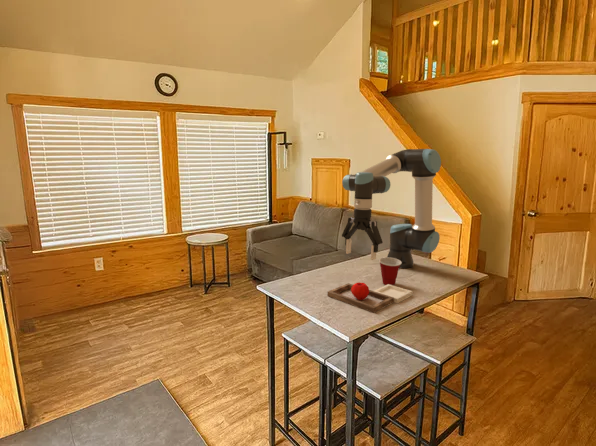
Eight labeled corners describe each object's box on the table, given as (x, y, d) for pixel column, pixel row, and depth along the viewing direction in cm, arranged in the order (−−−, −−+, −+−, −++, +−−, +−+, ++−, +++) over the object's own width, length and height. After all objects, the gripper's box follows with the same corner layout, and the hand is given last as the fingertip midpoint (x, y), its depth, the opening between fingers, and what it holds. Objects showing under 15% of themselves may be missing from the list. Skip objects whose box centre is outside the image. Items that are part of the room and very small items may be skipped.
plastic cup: (389, 289, 176) (390, 265, 174) (373, 282, 185) (374, 259, 182) (405, 284, 182) (406, 261, 179) (388, 278, 191) (389, 255, 188)
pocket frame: (348, 287, 179) (348, 283, 179) (393, 302, 162) (394, 297, 161) (327, 295, 169) (327, 291, 169) (373, 312, 152) (373, 308, 151)
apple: (347, 298, 166) (347, 282, 165) (359, 294, 171) (359, 278, 170) (360, 304, 160) (360, 287, 159) (372, 299, 165) (373, 283, 163)
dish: (388, 288, 178) (388, 284, 177) (412, 295, 169) (412, 291, 168) (372, 295, 169) (372, 291, 169) (397, 303, 160) (397, 298, 160)
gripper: (335, 206, 168) (333, 252, 171) (382, 212, 150) (379, 263, 153) (345, 204, 173) (344, 249, 176) (392, 210, 155) (389, 260, 159)
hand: (360, 256), depth 165 cm, fingers open, 13 cm apart
